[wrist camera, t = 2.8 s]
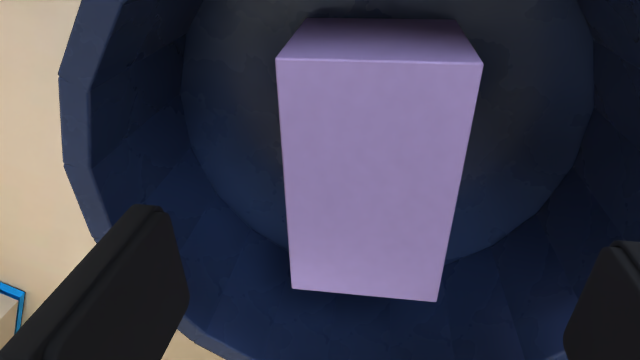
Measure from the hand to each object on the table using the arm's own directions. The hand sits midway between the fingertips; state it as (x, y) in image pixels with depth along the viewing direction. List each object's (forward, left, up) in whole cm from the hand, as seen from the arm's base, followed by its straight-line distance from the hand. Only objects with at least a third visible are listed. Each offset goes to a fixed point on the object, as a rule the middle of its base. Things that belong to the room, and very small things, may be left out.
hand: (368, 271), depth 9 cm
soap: (0, 0, -7) cm, 7 cm away
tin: (0, 0, -7) cm, 7 cm away
